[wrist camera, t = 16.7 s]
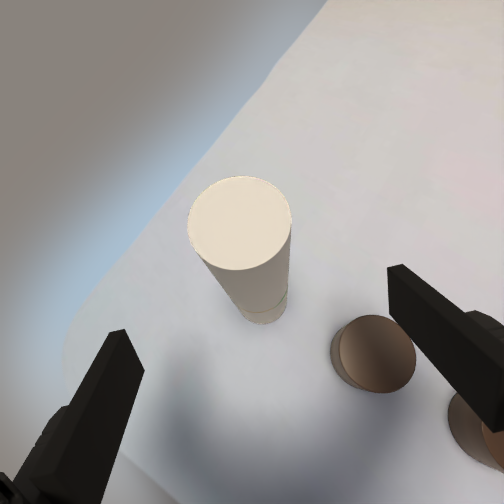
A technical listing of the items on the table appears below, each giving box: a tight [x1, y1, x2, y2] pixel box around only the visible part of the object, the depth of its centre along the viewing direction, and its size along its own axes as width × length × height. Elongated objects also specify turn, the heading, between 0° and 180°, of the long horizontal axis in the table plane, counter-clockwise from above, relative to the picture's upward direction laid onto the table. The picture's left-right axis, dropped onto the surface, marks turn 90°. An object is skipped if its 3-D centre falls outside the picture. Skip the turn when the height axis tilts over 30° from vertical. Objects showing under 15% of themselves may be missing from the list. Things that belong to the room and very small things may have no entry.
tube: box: [187, 176, 291, 324], centre depth 19 cm, size 4×4×15 cm
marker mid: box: [330, 315, 416, 393], centre depth 22 cm, size 5×5×4 cm
